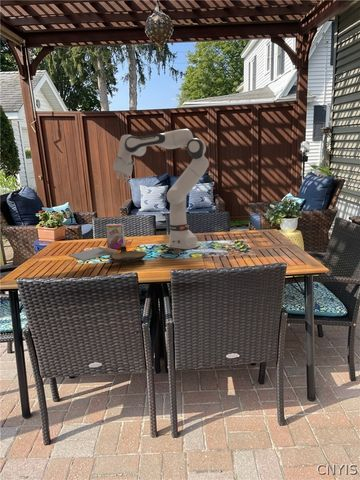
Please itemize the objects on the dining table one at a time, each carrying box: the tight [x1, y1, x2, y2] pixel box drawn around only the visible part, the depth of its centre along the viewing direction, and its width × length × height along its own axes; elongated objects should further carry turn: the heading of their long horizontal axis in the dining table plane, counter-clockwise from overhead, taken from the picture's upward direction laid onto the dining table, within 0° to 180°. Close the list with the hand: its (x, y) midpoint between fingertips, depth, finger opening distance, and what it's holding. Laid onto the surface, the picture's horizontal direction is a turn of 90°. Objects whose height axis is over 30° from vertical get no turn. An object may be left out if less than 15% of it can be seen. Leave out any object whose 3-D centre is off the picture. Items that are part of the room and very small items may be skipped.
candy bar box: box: [105, 223, 126, 250], centre depth 245 cm, size 11×5×16 cm, turn 84°
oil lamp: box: [107, 243, 148, 264], centre depth 213 cm, size 22×30×8 cm
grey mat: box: [68, 245, 118, 261], centre depth 235 cm, size 20×24×2 cm
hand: (121, 180), depth 242 cm, fingers open, 8 cm apart
